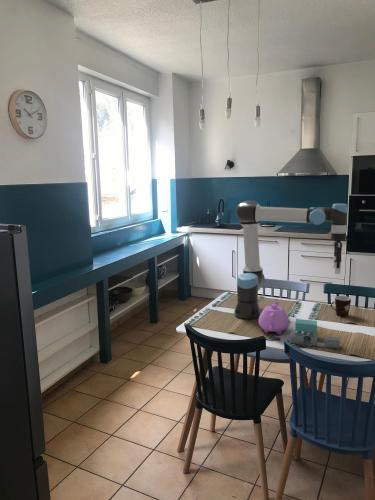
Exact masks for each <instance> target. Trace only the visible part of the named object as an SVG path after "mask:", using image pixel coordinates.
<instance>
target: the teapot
mask: <svg viewBox="0 0 375 500" xmlns="http://www.w3.org/2000/svg"><path fill="white" fill-rule="evenodd" d="M258 325H259V326H260V328H262V329H263V333H264V332H265V334H268V333H270V332H275V333H276V334H277V335H282V334H283V332H284V331H286V329H288V328H289V326H290V318H289V316H288V313H287V312H286V310H285V309H284V307H282V306H280V305H279V299H278V298H274V303H271V305H267V306H265V307H264V308H263V310H262V311H261V314H260V317H259V318H258Z"/></svg>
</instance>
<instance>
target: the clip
mask: <svg viewBox="0 0 375 500" xmlns="http://www.w3.org/2000/svg"><path fill="white" fill-rule="evenodd" d="M294 324H295V326H294V328H295V329H294V331H295V332H296V333H300V334H303V333H309V339H311V335H315V334H317V333H318V332H317V331H318V321H317V320H312V319H301V318H295V323H294Z"/></svg>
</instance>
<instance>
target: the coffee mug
mask: <svg viewBox="0 0 375 500" xmlns="http://www.w3.org/2000/svg"><path fill="white" fill-rule="evenodd" d="M351 302H352V298H351V297H349V296H345V295H337V296H334V301H332V302H331V303H330V308H331V309H332V310H334V311H335V315H336V316H337V317H339V316H340V318H347V317H349V313H350V308H351ZM334 303H335V304H334ZM333 305H334V306H335V308H334V307H333Z"/></svg>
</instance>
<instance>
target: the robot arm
mask: <svg viewBox="0 0 375 500" xmlns="http://www.w3.org/2000/svg"><path fill="white" fill-rule="evenodd" d="M235 217H236V218H237V219H238V220H239V223H240V226H241V227H242V230H243V248H244V265H245V266H244V267H243V269H242V273H240V274H239V275H238V277H237V281H236V284H237V285H236V289H237V296H236V297H237V300H236V301H237V302H236V303H235V307H234V311H233V314H234V316H235V317H236V316H237V317H236V318H238V317H239V319H241V318H245V319H244V320H255V319H259V317H260V314H261V313H262V311H261V308H260V305H259V290H261V289H262V288H263V287H264V284H265V281H266V278H265V275H264V272H263V271H264V270H263V267H262V266H261V260H260V246H259V245H260V242H259V225H260V224H261V221H263V222H265V221H266V222H283V223H302V224H313V225H321V224H323V223H324V222H331V230H330V231H331V234H330V239H331V240H332V241H334V242H333V248H334V249H333V266H332V268H333V269H334V275H341V270H342V269H341V267H342V251H343V249H342V248H343V243H342V241H346V240H347V233H346V232H347V229H348V226H347V225H348V223H347V222H348V205H347V204H346V203H333V204H332V206H331V207H323V206H322V207H318V206H315V207H309V208H297V207H280V206H279V207H277V206H275V207H274V206H261V205H260V203H258V201H255V200H251V199H250V200H246V201H243V202H240V203H239V204H238V205H237V206H236V208H235Z"/></svg>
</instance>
